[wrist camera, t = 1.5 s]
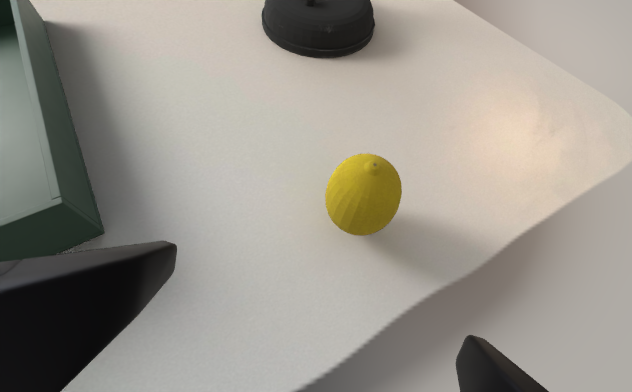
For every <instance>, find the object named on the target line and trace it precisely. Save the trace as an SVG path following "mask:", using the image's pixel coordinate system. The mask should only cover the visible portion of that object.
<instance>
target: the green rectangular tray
mask: <svg viewBox="0 0 632 392" xmlns="http://www.w3.org/2000/svg"><path fill="white" fill-rule="evenodd" d="M101 234H104V229H103V226H102V223H101V219H100V216H99V212H98V209H97V205H96V202H95V198H94V195H93V191H92V188H91V184H90V181H89V178H88V174H87V171H86V167H85V164H84V160H83V157H82V153H81V150H80V146H79V143H78V139H77V136H76V133H75V129H74V126H73V122H72V119H71V115H70V112H69V108H68V105H67V101H66V98H65V94H64V91H63V87H62V84H61V81H60V77H59V74H58V70H57V67H56V63H55V60H54V56H53V53H52V49H51V46H50V42H49V39H48V36H47V32H46V29H45V25H44V22H43V19H42V18H41V17H40V15H39V14H38V12H37V11H36V9H35V8H34V7H33V5H32V4H31V2H30V1H29V0H0V262H4V261H12V260H21V261H22V260H23V259H27V258H35V257H43V256H50V255H55V254H57V253H59V252H62V251H64V250H66V249H69V248H71V247H73V246H76V245H78V244H80V243H83V242H85V241H87V240H90V239H92V238H94V237H97V236H99V235H101Z"/></svg>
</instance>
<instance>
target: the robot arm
mask: <svg viewBox="0 0 632 392" xmlns="http://www.w3.org/2000/svg"><path fill="white" fill-rule="evenodd" d="M176 254H177V246H176V245H175V244H173V243H170V242H167V241H157V242H149V243H142V244H134V245H126V246H119V247H111V248H104V249H96V250H88V251H81V252H73V253H66V254H58V255H50V256H43V257H35V258H27V259H23V260H22V261H21V260H12V261H4V262H0V392H60V391H61V390H63V389H64V388H65V387H66V386H67V385H68V384H69V383H70V382H71V381H72V380H73V379H74V378H75V377H76V376H77V375H78V374H79V373H80V372H81V371H82V370H83V369H84V368H85V367H86V366H87V365H88V364H89V363H90V362H91V361H92V360H93V359H94V358H95V357H96V356H97V355H98V354H99V353H100V352H101V351H102V350H103V349H104V348H105V347H106V346H107V345H108V344H109V343H110V342H111V341H112V340H113V339H114V338H115V337H116V336H117V335H118V334H119V333H120V332H121V331H122V330H124V329H125V328H126V327H127V326H128V325H129V324H130V323H131V322H132V321H133V320H134V319H135V318H136V317H137V315H138V314H139V313H140V312H141V311H142V310H143V309H144V308H145V307H146V305H147V304H148V303H149V302H150V301H151V299H152V298H153V297H154V296H155V295H156V293H157V292H158V291H159V290H160V289H161V287H162V286H163V285H164V284H165V283H166V281H167V280H168V279H169V278H170V277H171V275H172V274H173V271H174V268H175V261H176ZM456 369H457V375H458V381H459V386H460V392H549V391H547V390H546V389H545V388H544V387H543V386H541V385H540V384H539V383H537V382H536V381H535V380H534V379H533V378H531V377H530V376H529V375H528V374H526V373H525V372H524V371H523V370H522V369H520V368H519V367H518V366H517V365H516V364H514V363H513V362H512V361H511V360H509V359H508V358H507V357H506V356H504V355H503V354H502V353H501V352H500V351H498V350H497V349H496V348H495V347H493V346H492V345H491V344H489V342H487V341H486V340H485V339H483V338H480V337H476V336H473V335H469V336H467V337H466V338H465V340H464V343H463V345H462V347H461V349H460V351H459V354H458V356H457V359H456Z"/></svg>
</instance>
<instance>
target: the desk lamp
mask: <svg viewBox="0 0 632 392" xmlns="http://www.w3.org/2000/svg"><path fill="white" fill-rule="evenodd" d="M262 25H263V29H264V31H265V33H266V35H267V36H268V37H269V38H270V39H271V40H272V41H273V42H274V43H276V44H277V45H279V46H280V47H282V48H284V49H286V50H288V51H291V52H293V53H297V54H300V55H304V56H309V57H319V58H330V57H339V56H344V55H348V54H351V53H354V52H356V51H358V50H360V49H362V48H363V47H364V46H366V45H367V44H368V42H369V41H370V40H371V38H372V35H373V31H374V26H375V22H374V18H373V8H372V4H371V1H370V0H266V1H265V6H264V8H263V11H262Z"/></svg>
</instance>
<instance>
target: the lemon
mask: <svg viewBox="0 0 632 392" xmlns="http://www.w3.org/2000/svg"><path fill="white" fill-rule="evenodd" d="M401 192H402V191H401V181H400V178H399V175H398V173H397V171H396V170H395V168H394V167H393V166H392V165H391V164H390V163H389V162H388V161H387V160H385V159H384V158H382V157H380V156H377V155H373V154H358V155H354V156H352V157H350V158H348V159H346V160H345V161H343V162H342V163H341V164H340V165H339V166H338V167H337V168H336V170H335V171H334V173H333V174H332V176H331V178H330V179H329V182H328V185H327V189H326V194H325V196H326V208H327V211H328V214H329V216H330V218H331V219H332V221H333V222H334V224H336V225H337V226H338V227H339V228H340V229H341V230H343V231H345V232H347V233H350V234H353V235H368V234H372V233H375V232H377V231H379V230H381V229H382V228H383V227H385V226H386V225H387V224H388V223H389V222H390V221H391V220H392V218H393V217H394V215H395V213H396V212H397V210H398V207H399V203H400V199H401Z"/></svg>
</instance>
